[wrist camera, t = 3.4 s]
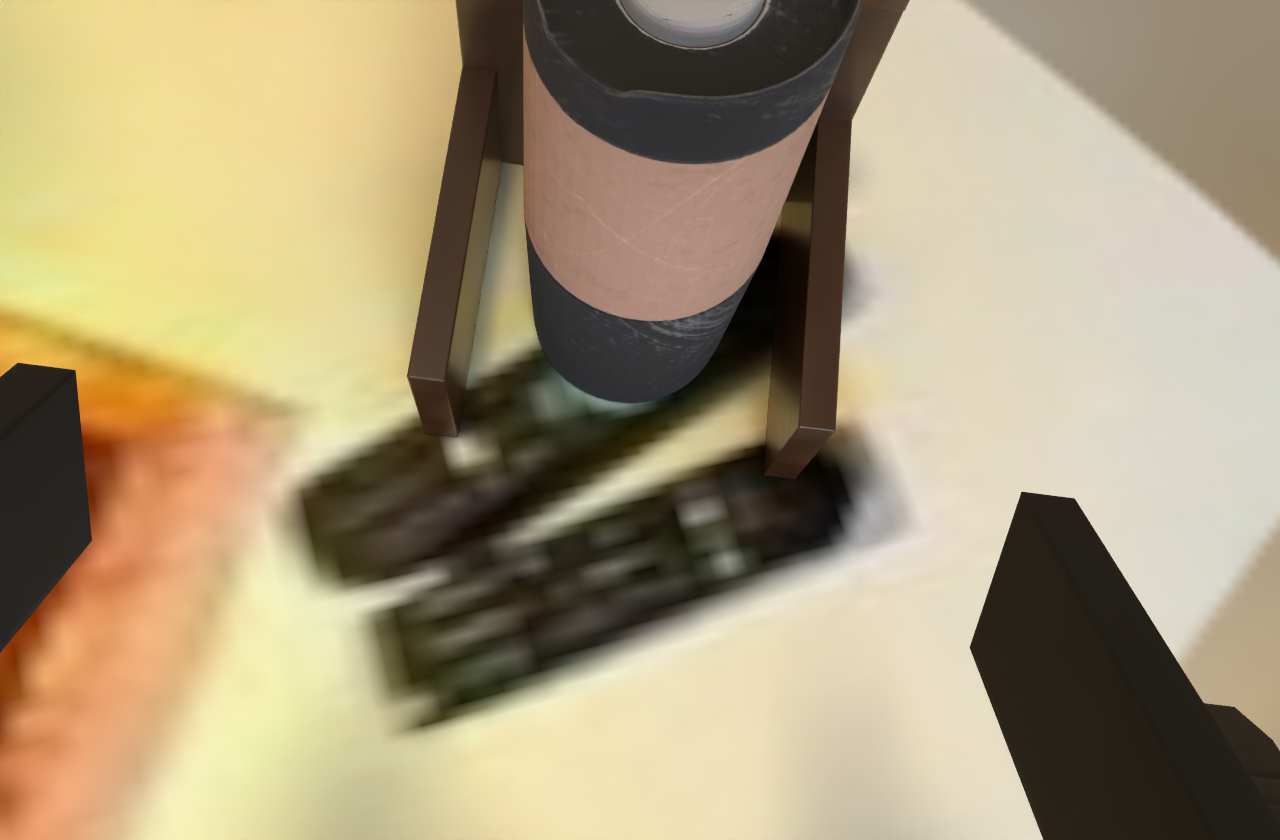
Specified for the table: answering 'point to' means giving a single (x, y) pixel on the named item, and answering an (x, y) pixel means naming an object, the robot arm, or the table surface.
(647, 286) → the travel mug
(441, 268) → the shelf rack
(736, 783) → the table surface
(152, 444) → the table surface
